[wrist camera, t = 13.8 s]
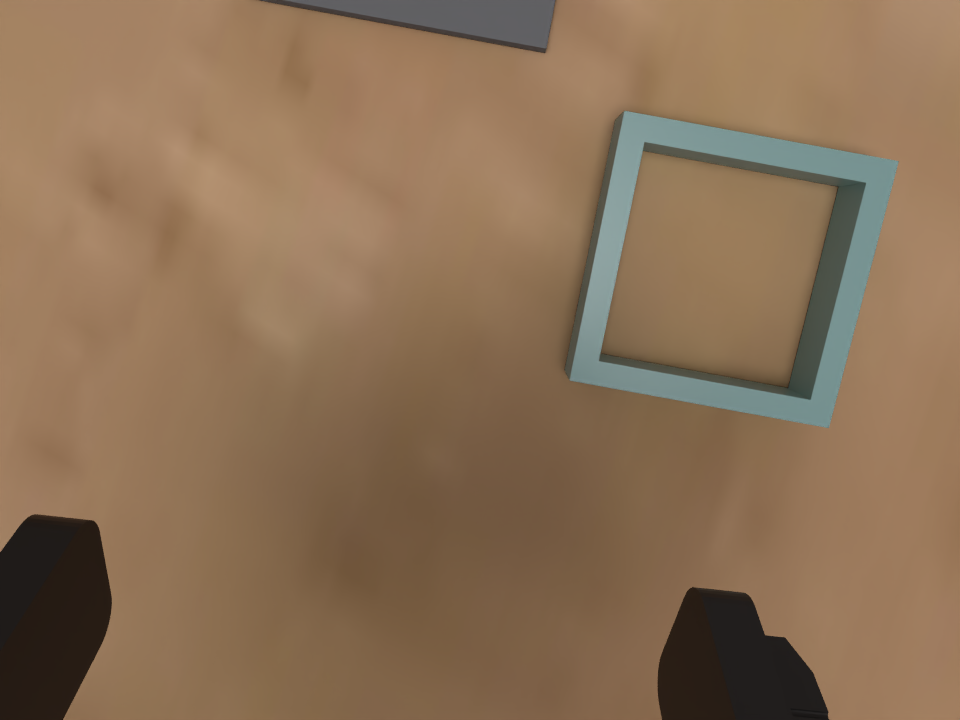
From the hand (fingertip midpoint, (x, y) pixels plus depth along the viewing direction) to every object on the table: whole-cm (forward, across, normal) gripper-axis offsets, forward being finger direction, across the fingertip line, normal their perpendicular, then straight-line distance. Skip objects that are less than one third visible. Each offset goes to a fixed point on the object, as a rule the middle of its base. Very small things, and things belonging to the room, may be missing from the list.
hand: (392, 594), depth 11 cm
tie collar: (+17, -9, +2) cm, 19 cm away
